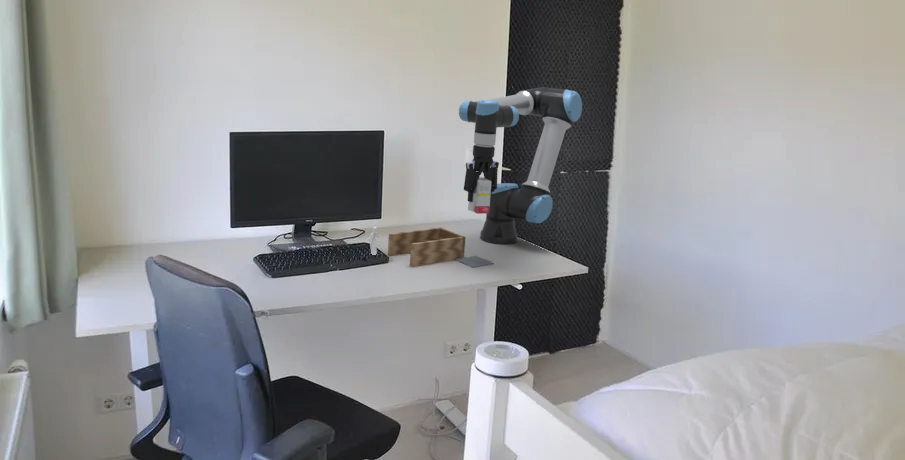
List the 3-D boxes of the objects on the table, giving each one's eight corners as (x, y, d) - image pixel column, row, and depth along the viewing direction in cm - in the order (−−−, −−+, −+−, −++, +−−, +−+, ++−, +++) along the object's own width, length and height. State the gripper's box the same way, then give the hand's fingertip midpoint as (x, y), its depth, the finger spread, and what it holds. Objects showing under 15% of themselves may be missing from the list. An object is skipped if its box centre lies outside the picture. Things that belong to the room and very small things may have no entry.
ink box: (489, 213, 250) (492, 180, 247) (476, 214, 248) (479, 180, 245) (480, 208, 257) (483, 176, 254) (468, 208, 256) (470, 176, 253)
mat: (475, 256, 264) (475, 255, 264) (493, 264, 257) (493, 262, 257) (454, 260, 258) (455, 258, 258) (472, 267, 251) (472, 266, 251)
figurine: (371, 252, 259) (372, 221, 256) (389, 258, 254) (391, 226, 251) (354, 257, 252) (355, 224, 249) (373, 263, 247) (374, 230, 244)
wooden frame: (439, 247, 273) (440, 227, 271) (463, 258, 261) (465, 237, 259) (387, 255, 258) (388, 233, 256) (411, 266, 247) (412, 244, 245)
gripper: (497, 142, 256) (491, 205, 261) (456, 144, 244) (451, 209, 250) (511, 146, 250) (505, 209, 256) (470, 147, 238) (464, 214, 244)
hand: (478, 209), depth 253 cm, fingers closed on ink box, 6 cm apart
